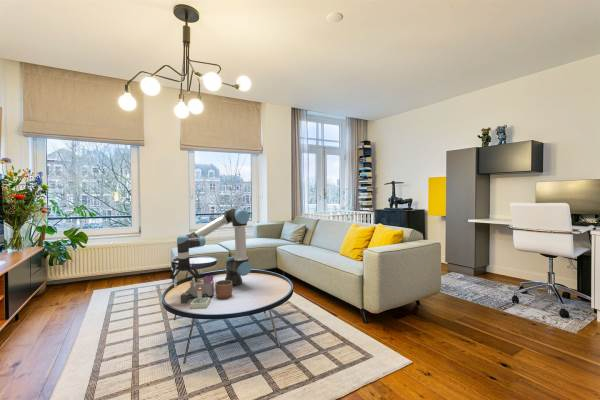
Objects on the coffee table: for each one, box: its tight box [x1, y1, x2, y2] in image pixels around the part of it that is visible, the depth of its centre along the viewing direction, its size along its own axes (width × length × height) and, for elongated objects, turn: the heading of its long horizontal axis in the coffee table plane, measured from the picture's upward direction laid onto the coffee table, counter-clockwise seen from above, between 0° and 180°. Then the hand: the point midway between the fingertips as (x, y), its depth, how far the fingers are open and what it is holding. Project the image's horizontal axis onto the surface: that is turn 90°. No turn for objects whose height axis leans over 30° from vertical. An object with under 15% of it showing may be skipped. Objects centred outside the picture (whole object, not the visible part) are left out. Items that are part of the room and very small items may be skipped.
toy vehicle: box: [184, 275, 215, 300], centre depth 215 cm, size 9×20×15 cm, turn 95°
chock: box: [180, 292, 190, 304], centre depth 205 cm, size 4×5×6 cm
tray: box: [189, 296, 211, 309], centre depth 199 cm, size 11×11×4 cm
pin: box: [196, 287, 203, 303], centre depth 198 cm, size 4×4×12 cm
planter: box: [214, 279, 233, 300], centre depth 215 cm, size 12×12×11 cm
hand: (185, 287), depth 205 cm, fingers open, 13 cm apart
